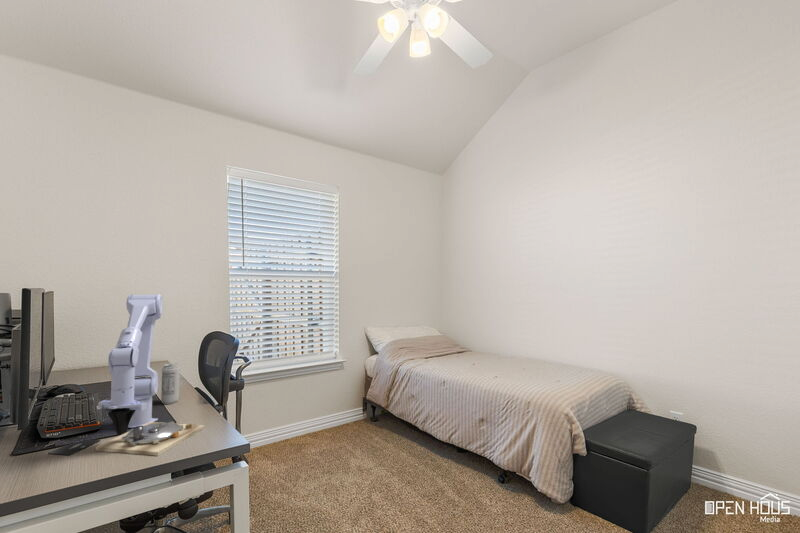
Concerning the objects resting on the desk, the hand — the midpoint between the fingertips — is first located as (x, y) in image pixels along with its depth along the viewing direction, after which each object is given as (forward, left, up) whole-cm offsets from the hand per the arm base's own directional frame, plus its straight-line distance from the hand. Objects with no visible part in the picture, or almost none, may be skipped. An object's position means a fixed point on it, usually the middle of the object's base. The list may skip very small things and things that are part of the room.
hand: (121, 433), depth 117 cm
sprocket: (+6, +5, -2) cm, 8 cm away
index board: (+6, +5, -3) cm, 9 cm away
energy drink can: (-14, +37, -3) cm, 40 cm away
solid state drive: (-12, -4, -4) cm, 13 cm away
